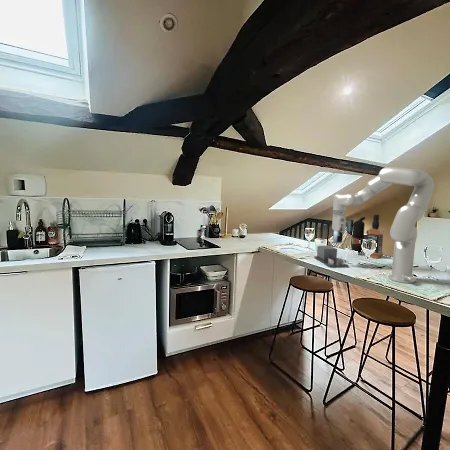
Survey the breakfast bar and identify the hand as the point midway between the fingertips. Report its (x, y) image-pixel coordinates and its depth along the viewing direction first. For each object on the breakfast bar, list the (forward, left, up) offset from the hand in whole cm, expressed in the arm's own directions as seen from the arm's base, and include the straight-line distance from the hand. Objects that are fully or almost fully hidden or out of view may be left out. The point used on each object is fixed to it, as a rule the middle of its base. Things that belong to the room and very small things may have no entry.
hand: (337, 240), depth 179 cm
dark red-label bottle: (+35, -33, -17) cm, 51 cm away
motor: (+10, 0, -17) cm, 20 cm away
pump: (0, 0, -1) cm, 1 cm away
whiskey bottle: (+25, -41, -17) cm, 51 cm away
